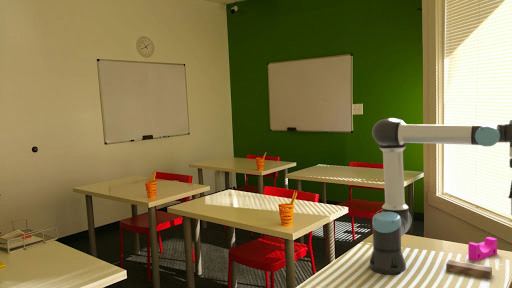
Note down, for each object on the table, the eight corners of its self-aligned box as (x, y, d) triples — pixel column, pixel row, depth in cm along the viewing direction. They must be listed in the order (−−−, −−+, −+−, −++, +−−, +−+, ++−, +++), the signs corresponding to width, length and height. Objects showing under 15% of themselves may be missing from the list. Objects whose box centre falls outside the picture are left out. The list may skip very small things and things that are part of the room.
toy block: (483, 251, 189) (483, 235, 188) (497, 254, 183) (497, 238, 183) (463, 257, 182) (463, 241, 181) (476, 262, 176) (476, 245, 176)
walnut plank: (446, 270, 168) (446, 263, 168) (448, 266, 172) (448, 259, 172) (490, 278, 158) (490, 271, 158) (491, 274, 162) (491, 267, 162)
